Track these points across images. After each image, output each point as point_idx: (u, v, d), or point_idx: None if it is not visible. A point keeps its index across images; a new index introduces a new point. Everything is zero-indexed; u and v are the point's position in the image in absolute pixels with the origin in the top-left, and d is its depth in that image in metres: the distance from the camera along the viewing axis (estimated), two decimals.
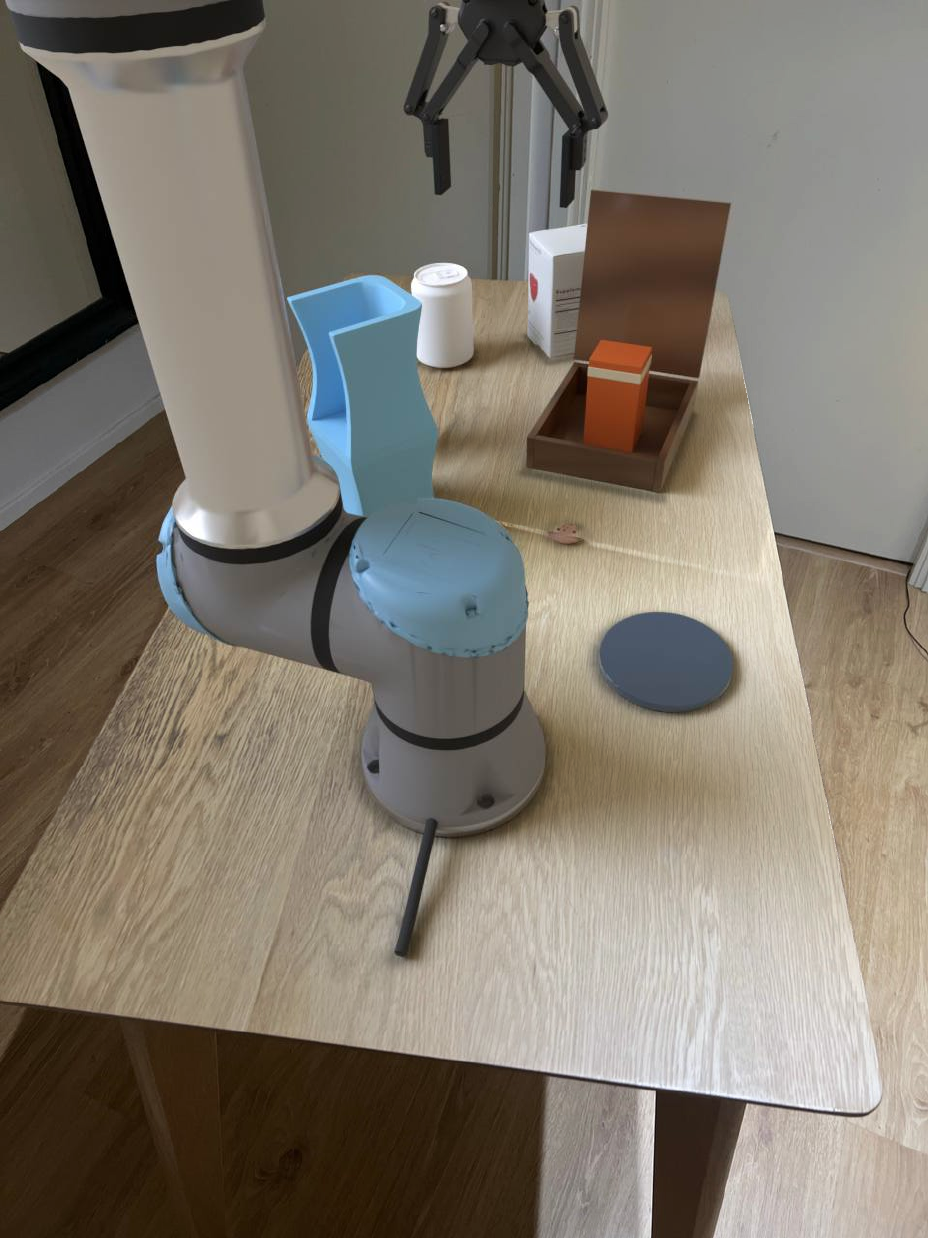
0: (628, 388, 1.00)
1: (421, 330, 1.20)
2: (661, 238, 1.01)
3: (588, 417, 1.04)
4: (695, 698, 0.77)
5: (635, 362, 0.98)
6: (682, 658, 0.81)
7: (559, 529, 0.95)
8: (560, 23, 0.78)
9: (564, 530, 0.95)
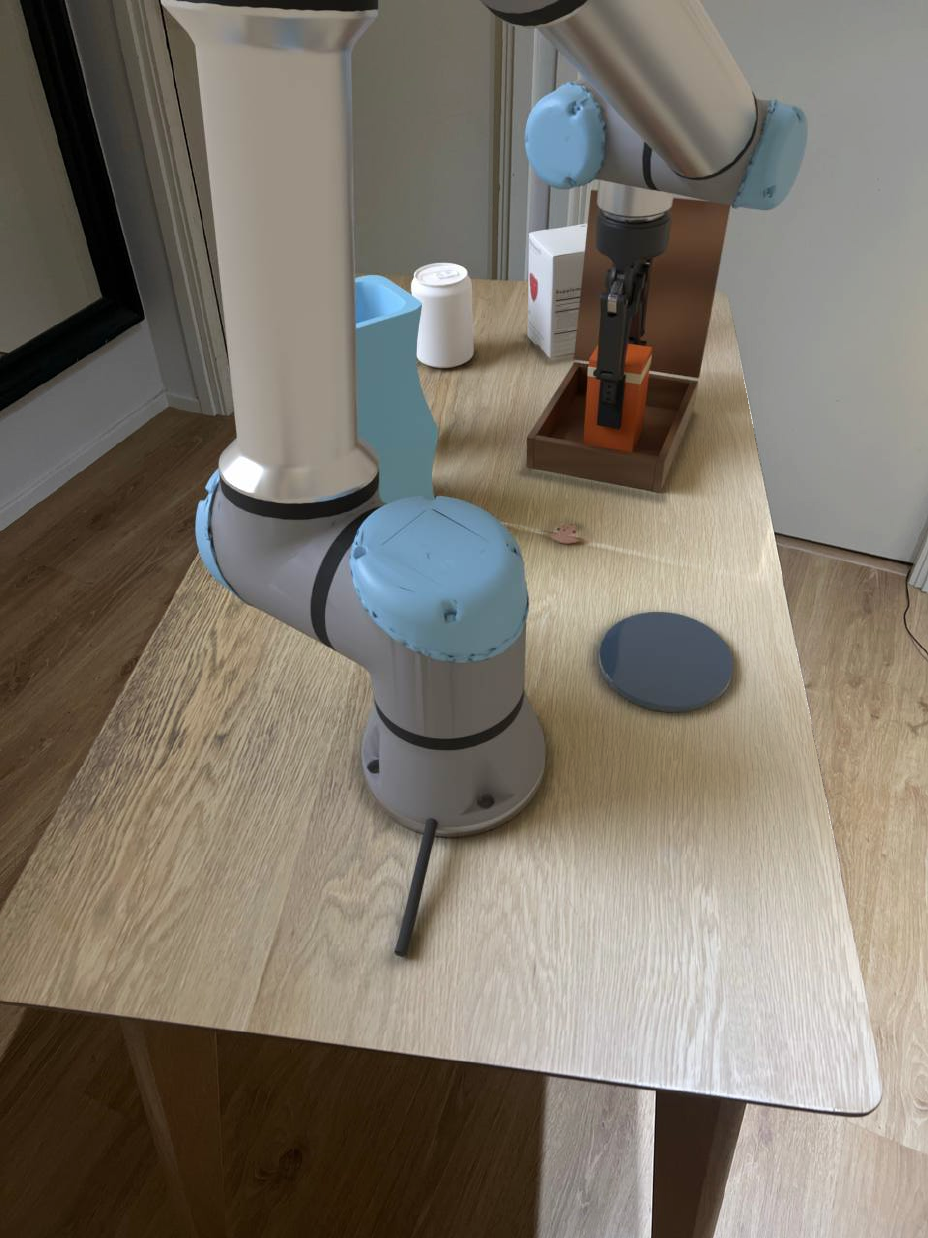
0: (628, 388, 1.00)
1: (421, 330, 1.20)
2: None
3: (588, 417, 1.04)
4: (695, 698, 0.77)
5: (635, 362, 0.98)
6: (682, 658, 0.81)
7: (559, 529, 0.95)
8: None
9: (564, 530, 0.95)
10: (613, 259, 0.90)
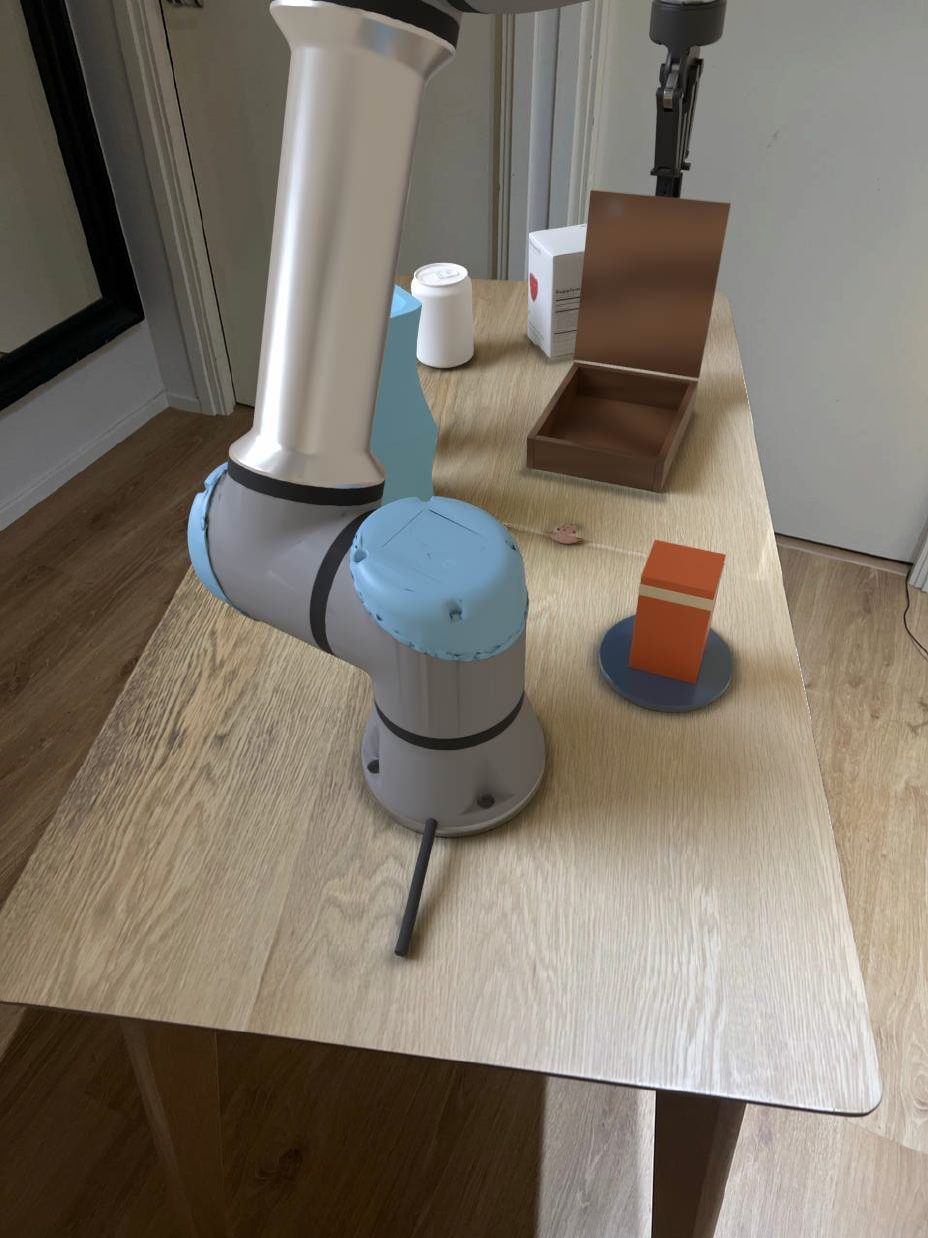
0: (694, 614, 0.73)
1: (421, 330, 1.20)
2: (661, 238, 1.01)
3: (637, 640, 0.78)
4: (695, 698, 0.77)
5: (705, 582, 0.72)
6: None
7: (559, 529, 0.95)
8: None
9: (564, 530, 0.95)
10: (669, 46, 0.91)
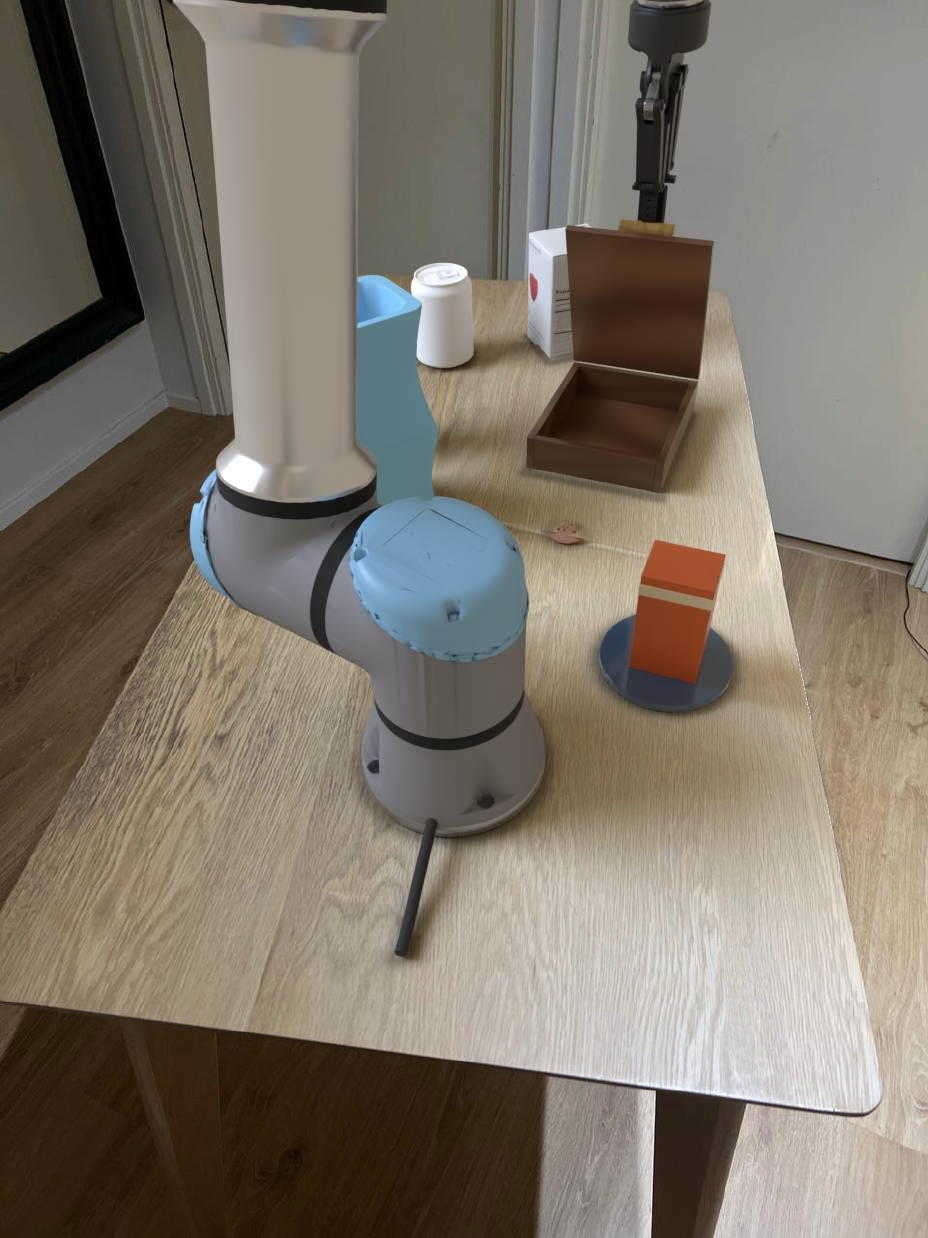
0: (694, 614, 0.73)
1: (421, 330, 1.20)
2: (644, 271, 0.97)
3: (637, 640, 0.78)
4: (695, 698, 0.77)
5: (705, 582, 0.72)
6: None
7: (559, 529, 0.95)
8: None
9: (564, 530, 0.95)
10: (649, 54, 0.84)
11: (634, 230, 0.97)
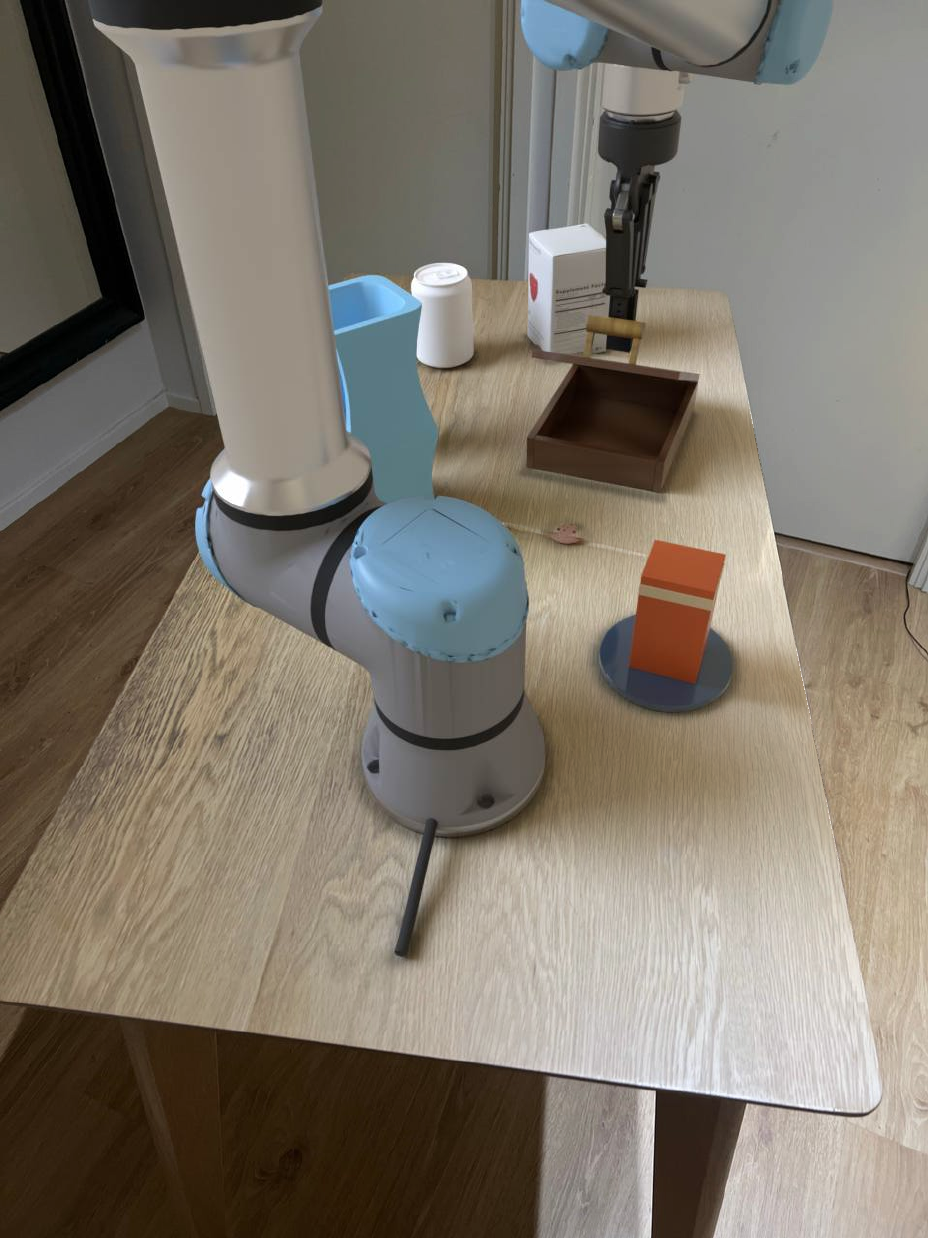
0: (694, 614, 0.73)
1: (421, 330, 1.20)
2: None
3: (637, 640, 0.78)
4: (695, 698, 0.77)
5: (705, 582, 0.72)
6: None
7: (559, 529, 0.95)
8: None
9: (564, 530, 0.95)
10: (618, 165, 0.83)
11: (602, 333, 0.94)
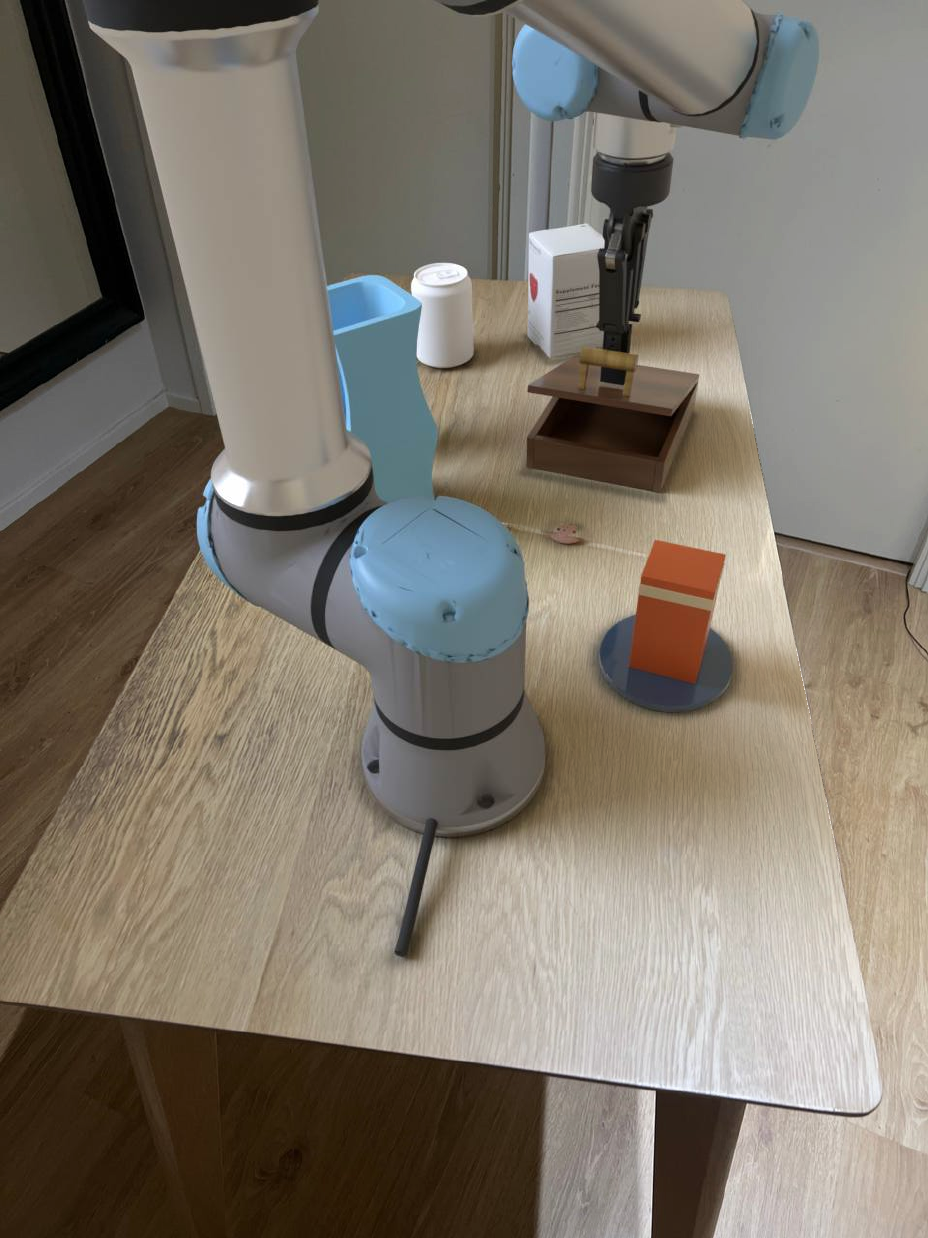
0: (694, 614, 0.73)
1: (421, 330, 1.20)
2: None
3: (637, 640, 0.78)
4: (695, 698, 0.77)
5: (705, 582, 0.72)
6: None
7: (559, 529, 0.95)
8: None
9: (564, 530, 0.95)
10: (611, 206, 0.84)
11: (596, 365, 0.95)
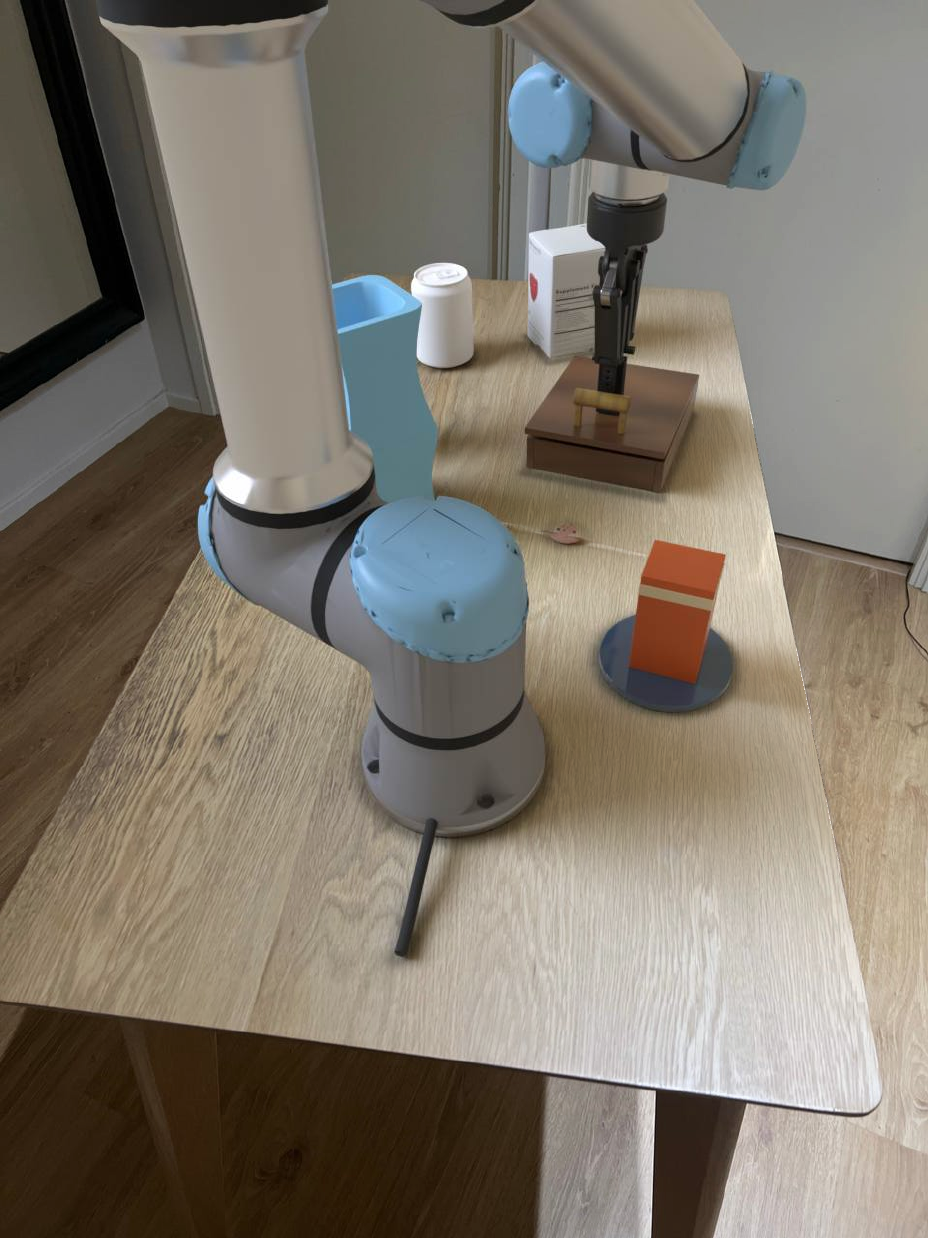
0: (694, 614, 0.73)
1: (421, 330, 1.20)
2: None
3: (637, 640, 0.78)
4: (695, 698, 0.77)
5: (705, 582, 0.72)
6: None
7: (559, 529, 0.95)
8: None
9: (564, 530, 0.95)
10: (606, 245, 0.85)
11: (589, 407, 0.97)
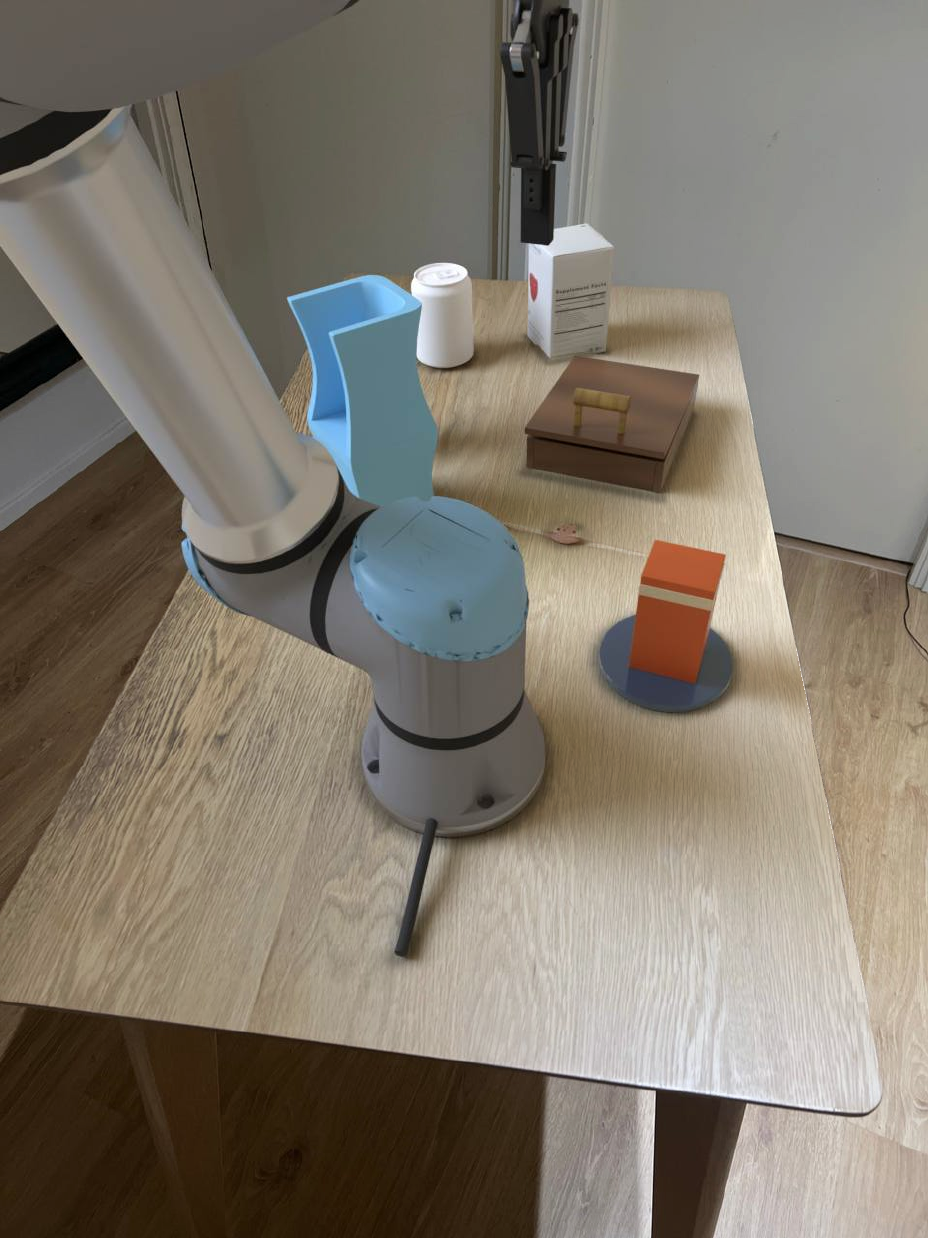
0: (694, 614, 0.73)
1: (421, 330, 1.20)
2: None
3: (637, 640, 0.78)
4: (695, 698, 0.77)
5: (705, 582, 0.72)
6: None
7: (559, 529, 0.95)
8: None
9: (564, 530, 0.95)
10: None
11: (589, 407, 0.97)
